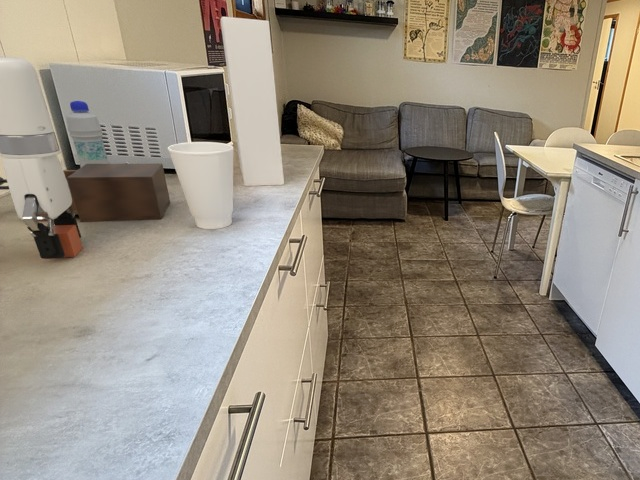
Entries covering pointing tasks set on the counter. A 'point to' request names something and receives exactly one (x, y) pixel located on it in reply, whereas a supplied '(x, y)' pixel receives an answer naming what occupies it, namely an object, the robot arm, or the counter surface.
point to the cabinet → (119, 192)
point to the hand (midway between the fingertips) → (62, 247)
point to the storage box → (253, 99)
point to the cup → (206, 181)
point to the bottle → (86, 135)
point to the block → (69, 239)
